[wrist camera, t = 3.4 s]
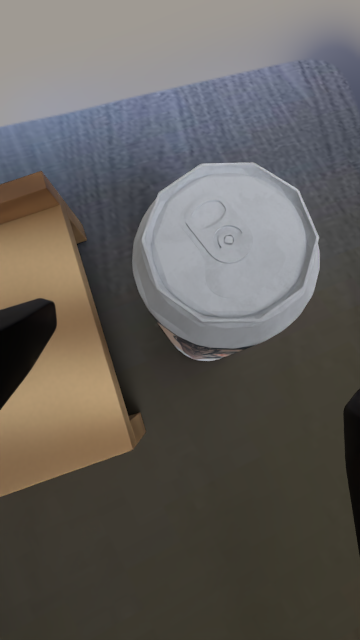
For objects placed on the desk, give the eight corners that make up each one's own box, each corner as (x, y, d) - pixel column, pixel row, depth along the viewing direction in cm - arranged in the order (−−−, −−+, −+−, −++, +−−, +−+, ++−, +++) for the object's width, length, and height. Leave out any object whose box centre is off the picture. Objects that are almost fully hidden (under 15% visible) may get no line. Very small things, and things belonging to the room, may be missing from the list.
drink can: (196, 377, 18) (206, 391, 6) (152, 314, 19) (83, 219, 7) (259, 330, 18) (385, 259, 6) (213, 271, 19) (248, 108, 7)
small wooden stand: (146, 431, 18) (126, 459, 12) (-15, 488, 17) (-109, 542, 12) (82, 224, 20) (41, 170, 14) (-61, 272, 20) (-157, 236, 14)
